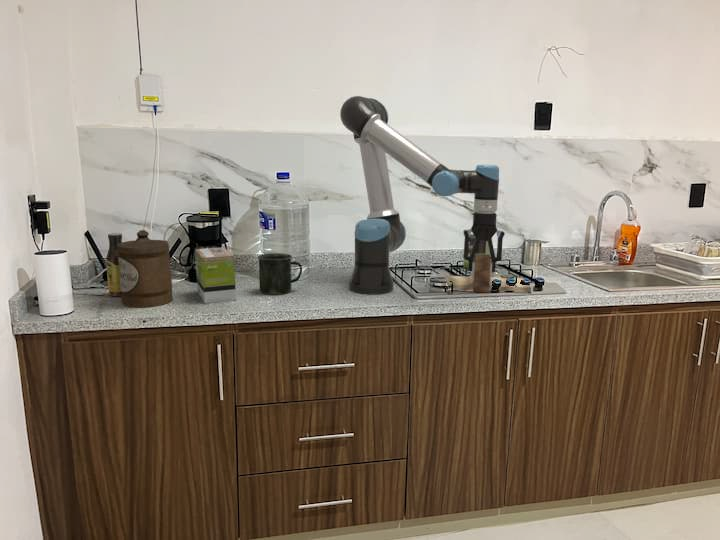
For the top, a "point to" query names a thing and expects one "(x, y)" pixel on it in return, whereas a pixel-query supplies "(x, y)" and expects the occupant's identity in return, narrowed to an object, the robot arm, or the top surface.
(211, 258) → the tea box
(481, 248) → the coffee can
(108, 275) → the sauce bottle
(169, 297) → the wooden container
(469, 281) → the birch board
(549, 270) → the top surface
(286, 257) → the mug
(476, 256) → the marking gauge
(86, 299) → the top surface
